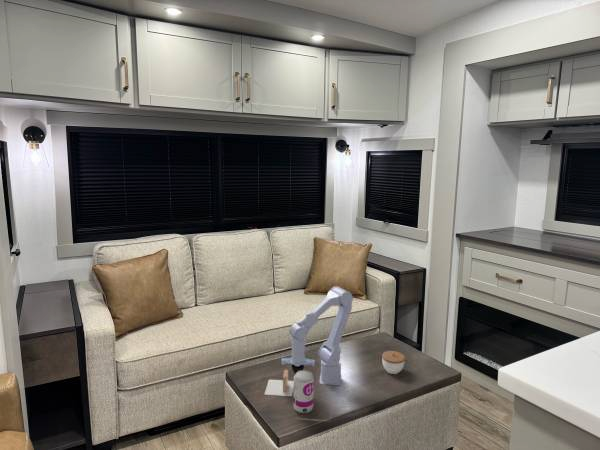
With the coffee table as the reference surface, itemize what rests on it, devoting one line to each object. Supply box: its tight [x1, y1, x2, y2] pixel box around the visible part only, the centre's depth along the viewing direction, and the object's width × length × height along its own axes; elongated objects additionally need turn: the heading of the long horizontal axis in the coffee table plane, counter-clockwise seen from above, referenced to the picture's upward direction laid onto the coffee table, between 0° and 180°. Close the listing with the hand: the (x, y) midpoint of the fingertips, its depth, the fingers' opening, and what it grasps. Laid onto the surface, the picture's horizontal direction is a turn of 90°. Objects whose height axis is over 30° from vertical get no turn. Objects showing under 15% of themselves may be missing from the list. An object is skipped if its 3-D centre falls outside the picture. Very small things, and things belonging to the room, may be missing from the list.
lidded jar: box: [381, 350, 406, 375], centre depth 198 cm, size 11×11×9 cm
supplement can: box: [292, 369, 315, 414], centre depth 167 cm, size 8×8×15 cm
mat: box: [264, 379, 294, 397], centre depth 182 cm, size 12×12×1 cm
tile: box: [282, 369, 289, 392], centre depth 181 cm, size 2×6×7 cm, turn 175°
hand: (297, 379), depth 181 cm, fingers closed
